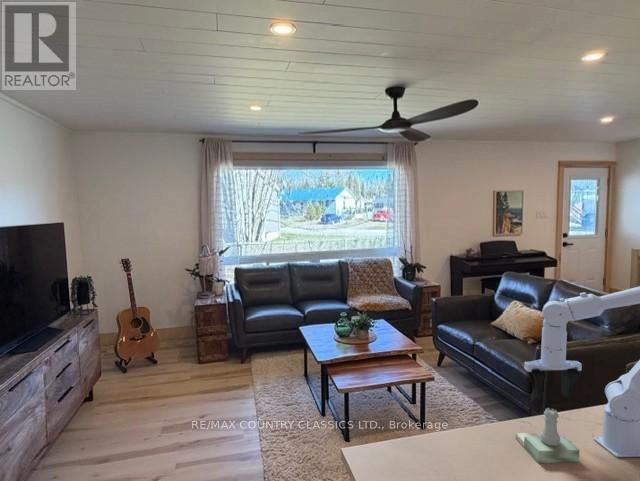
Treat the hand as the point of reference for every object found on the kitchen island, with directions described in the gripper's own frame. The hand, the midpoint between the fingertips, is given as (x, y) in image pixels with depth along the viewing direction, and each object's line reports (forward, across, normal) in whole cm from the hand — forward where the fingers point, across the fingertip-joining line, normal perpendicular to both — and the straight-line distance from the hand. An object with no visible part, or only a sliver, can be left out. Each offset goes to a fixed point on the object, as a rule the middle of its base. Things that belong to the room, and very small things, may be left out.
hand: (551, 396), depth 108 cm
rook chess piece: (+7, +6, +10) cm, 13 cm away
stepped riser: (+10, +6, +8) cm, 14 cm away
